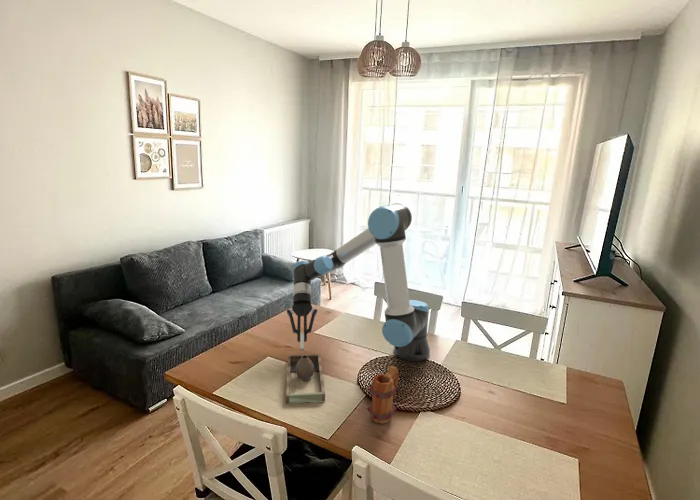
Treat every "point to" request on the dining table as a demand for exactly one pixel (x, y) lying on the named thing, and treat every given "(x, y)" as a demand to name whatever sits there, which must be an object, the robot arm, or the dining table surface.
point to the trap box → (305, 396)
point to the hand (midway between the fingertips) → (302, 349)
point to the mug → (383, 395)
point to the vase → (304, 368)
